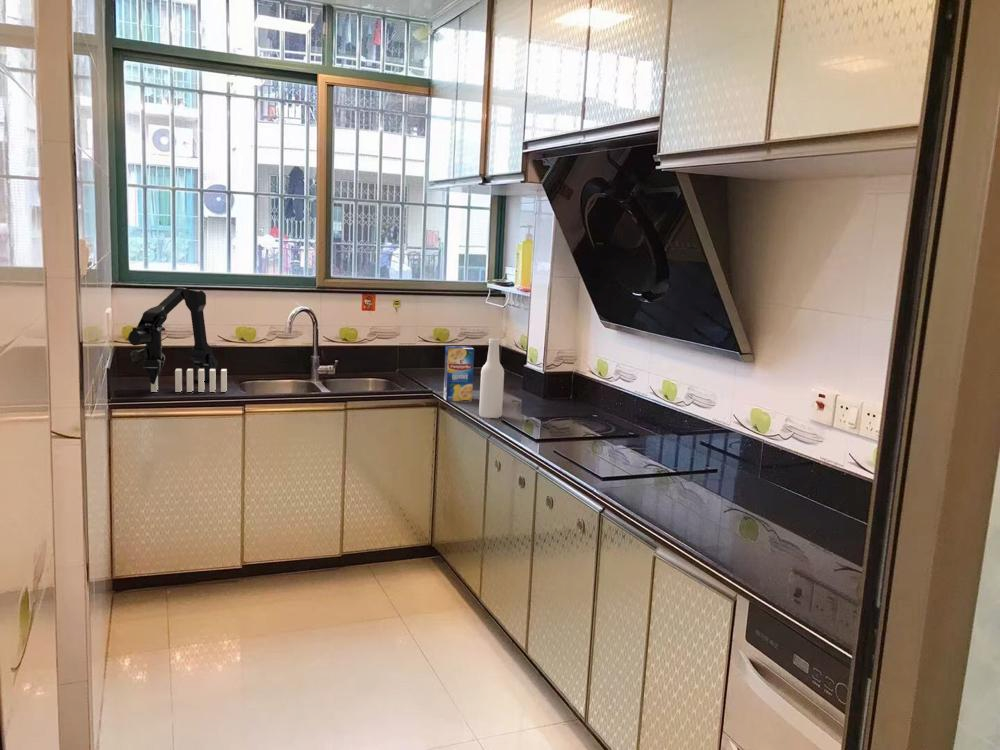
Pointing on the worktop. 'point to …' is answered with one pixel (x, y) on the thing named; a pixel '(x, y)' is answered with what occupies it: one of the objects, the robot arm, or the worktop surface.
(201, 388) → the domino
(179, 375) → the domino
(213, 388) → the domino
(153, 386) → the domino
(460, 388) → the blue food box
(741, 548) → the worktop surface
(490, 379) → the alcohol
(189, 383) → the domino
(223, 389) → the domino
